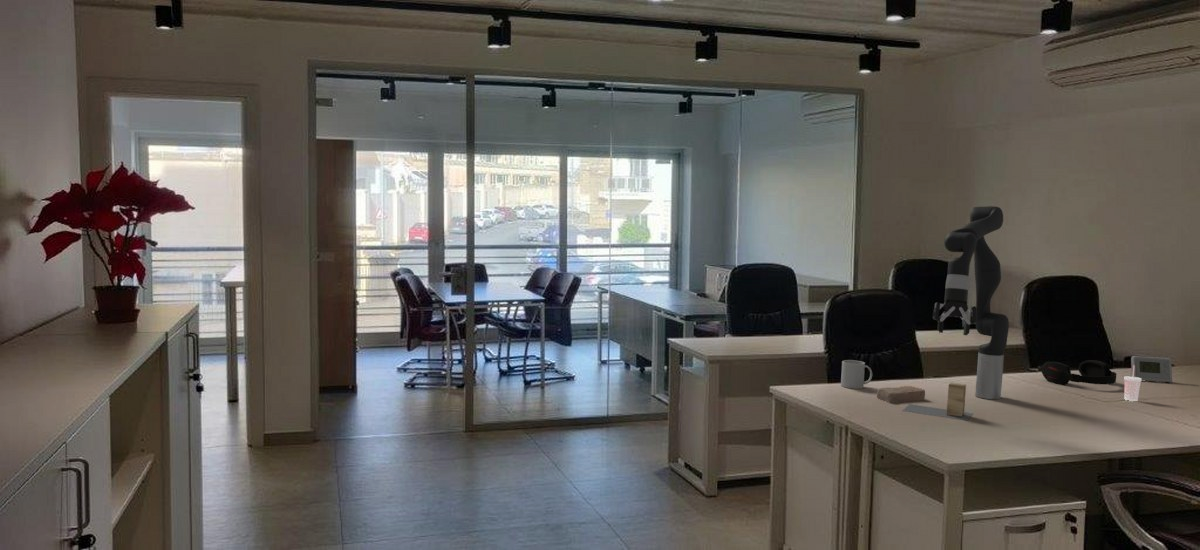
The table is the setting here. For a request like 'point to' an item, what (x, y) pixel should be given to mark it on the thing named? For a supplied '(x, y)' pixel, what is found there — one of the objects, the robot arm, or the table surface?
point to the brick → (901, 394)
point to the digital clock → (1152, 368)
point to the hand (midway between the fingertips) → (953, 333)
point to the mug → (854, 374)
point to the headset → (1088, 369)
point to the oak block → (956, 399)
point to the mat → (934, 412)
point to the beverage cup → (1132, 387)
